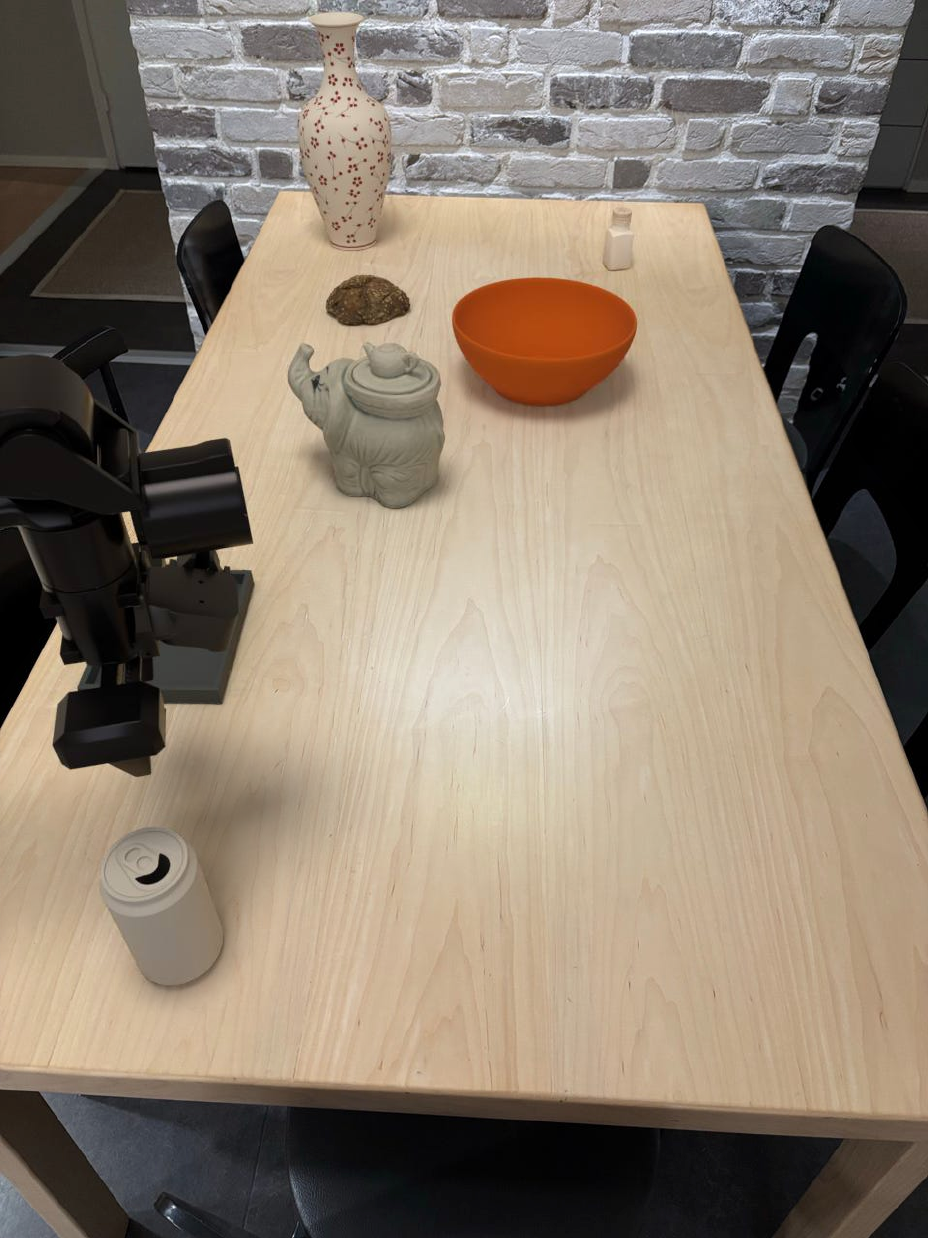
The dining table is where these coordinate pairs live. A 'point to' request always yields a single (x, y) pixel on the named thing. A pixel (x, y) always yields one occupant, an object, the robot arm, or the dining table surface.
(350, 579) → the dining table surface
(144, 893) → the beverage can
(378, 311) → the bread roll
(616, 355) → the bowl
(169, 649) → the rectangular tray
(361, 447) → the teapot
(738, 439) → the dining table surface
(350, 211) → the vase
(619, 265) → the pepper shaker
